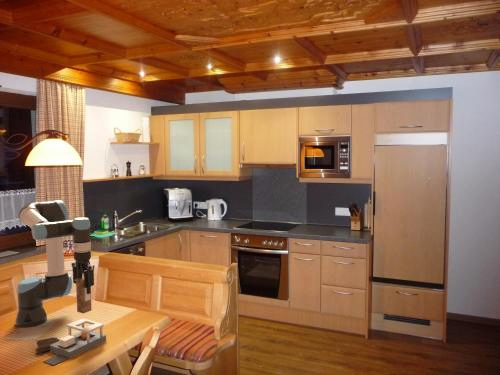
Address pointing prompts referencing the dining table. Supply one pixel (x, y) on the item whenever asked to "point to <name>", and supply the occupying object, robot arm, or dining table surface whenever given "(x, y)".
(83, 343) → the two-tier post stand
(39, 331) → the dining table surface
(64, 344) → the on button
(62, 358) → the pad
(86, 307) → the brown rectangular block
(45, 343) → the rock
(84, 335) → the plunger
